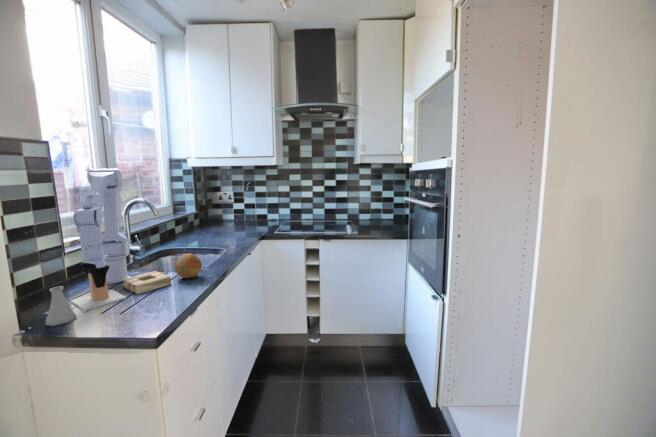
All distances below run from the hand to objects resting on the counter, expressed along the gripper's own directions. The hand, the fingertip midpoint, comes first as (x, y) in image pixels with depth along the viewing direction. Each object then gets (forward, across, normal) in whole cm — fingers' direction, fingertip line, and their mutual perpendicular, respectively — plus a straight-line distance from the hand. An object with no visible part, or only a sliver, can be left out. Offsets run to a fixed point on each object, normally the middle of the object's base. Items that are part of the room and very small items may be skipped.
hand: (97, 284), depth 106 cm
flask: (+6, -9, +12) cm, 16 cm away
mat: (+6, 0, 0) cm, 6 cm away
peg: (+5, 0, 0) cm, 5 cm away
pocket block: (+6, +2, -16) cm, 17 cm away
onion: (+6, -2, -30) cm, 31 cm away
